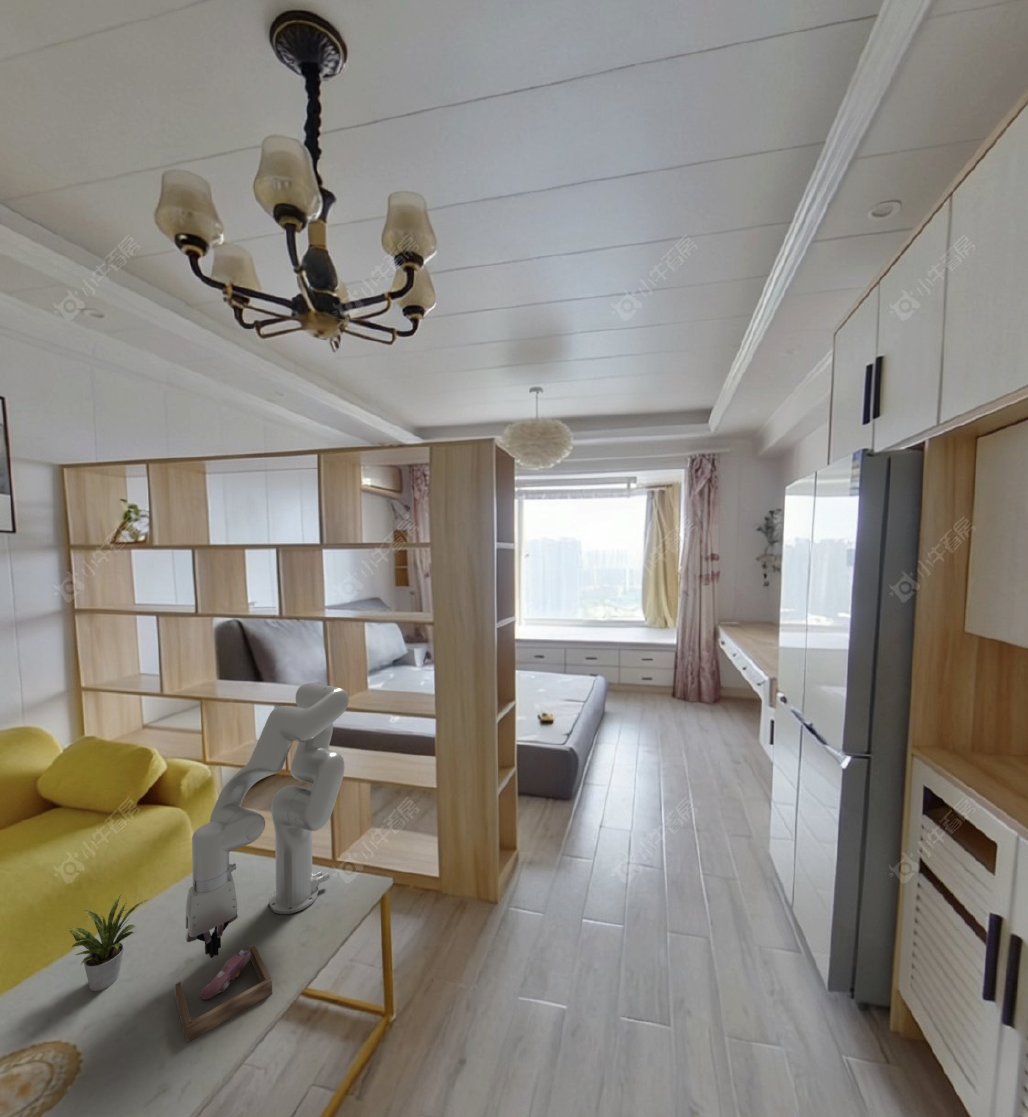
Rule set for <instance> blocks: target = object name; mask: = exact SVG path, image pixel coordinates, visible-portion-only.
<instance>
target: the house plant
mask: <svg viewBox="0 0 1028 1117" xmlns="http://www.w3.org/2000/svg"><path fill="white" fill-rule="evenodd" d="M121 896H122V894H120V895H119V896H118V897H117V898H116V899H115V901H114V903H113V905H112V906H111V909H110V911H109V914H108V918H107V922H106V918H105V916H104V915H102V914H100V916H99V914H97V913H95V912H93V911H90V910H88V909H87V910H86V909H83V911H84V912H85V913H86V914H88V915H89V916H85V917H87V918H90V919H92V920H93V922H94V924H95V927H96V930H97V932H98V935H99V938H100V940H98V939H97V938H96V937H95V936H94V935H93V934H92V932H89V931H88V930H87V929H85V928H81V927H76V926H75V927H74V926H72V927H68V929H69V930H68V931H69V932H70V934H71V935H72V936H73V938H74V940H75V943H73V944H72V946H71V948H74V947H79V946H82V947H84V948H86V949H87V950H84V951H80V952H78V953H76V954H75V956H79V955H86V957H84V958H83V959H82V962H81V963H80V965H82V964H83V965H84V970H85V974H86V978H87V982H88V986H89V989H90V990H91V991H93V992H94V991H95V992H96V991H100V990H104V989H106V988H108V987H109V986H111V985H113V983H115V982H116V981H118V979H119V976H120V971H121V967H122V966H121V965H122V961H123V954H124V951H125V944H124V943H123V942H122V941H123V940H125V939H126V938H128V937H129V936H130V935H133V934H134V933H136V932H134V931H131V930H132V929H134V928H137V926H136V925H135V924H128V925H127V926H126V927H124V926H125V924H126V923H127V922H128V921H129V920H130V919H131V917H130V918H128V917H129V916H130V915H131V913H132V912H133V911H135V910H136V908H138V907H139V906H140V905H141V904H143V903H145V902H147V901H148V899H146V900H143V901H141V902H138V903H137V904H135V905H134V906H132V907H131V908H130V909H129V910H128V909H125V908H126V906H127V904H128V902H127V901H126V903H124V905H122V907H121V908H120V910H119V912H118V914H117V915H116V917H115V914H116V911H117V909H118V906H119V902H120V899H121ZM125 911H128V912H126V914H125V915H124V916H123V918H122V920H121V917H122V914H123V912H125ZM101 917H102V919H101ZM114 918H115V919H114ZM127 918H128V919H127ZM120 920H121V921H120ZM123 927H124V928H123ZM121 929H122V930H121ZM120 930H121V931H120ZM79 933H80V934H79ZM100 941H101V942H100Z"/></svg>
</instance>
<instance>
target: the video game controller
mask: <svg viewBox="0 0 1028 1117" xmlns="http://www.w3.org/2000/svg"><path fill="white" fill-rule="evenodd" d="M250 957H251V953H250V951H248V950H243V949H240V951H238V952H237V953H235V955H233V956H232V957H230V958H229V959H227V960H226V962H225V963H224V965H223V967H222V968H221V969H220V970H219V971H218V973H216V976H214V978H213V979H212V980H211V982H209V983H208V984H206V985H205V986H204V987H203V988H202V989H201V991H200V997H201V999H202V1000H210V999H212V998H213V997H215V996H216V995H217V994H219V993H223V992H225V990H226V989H227V988H228V987H229V985H230V983H231V980H232V981H234V980H235V979H237V978H239V976H240V973H241V971H242V970H243V968H244V967H245V965H247V963H248V962H249V960H250Z"/></svg>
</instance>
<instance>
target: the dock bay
mask: <svg viewBox="0 0 1028 1117" xmlns="http://www.w3.org/2000/svg"><path fill="white" fill-rule="evenodd" d="M249 953H251V957H250V959H249V960H250V962H251V963H252V966H253V968H254V970H255V972H256V974H257V977H258V979H259V981H260V982H259V983H258V984H256V985H254V986H252V987H250V988H249V989H246V990H245V991H243V992H241V993H239V994H238V995H236V996H234V997H232V998H231V999H229V1000H226V1001H225V1002H223V1003H221V1004H219V1005H218V1006H216V1007H214V1008H213V1009H210V1010H209V1011H207V1012H206V1013H203V1014H202V1015H200V1016H198V1017H197V1018H195V1019H191V1015H190V1010H189V1008H188V1004H187V1000H186V997H185V993H184V990H183V984H182V981H178V982H176V983H175V984H174V993H175V994H174V995H175V996H174V997H175V998H174V1000H175V1002H176V1006H177V1010H178V1014H179V1019H180V1022H181V1025H182V1026H181V1027H182V1029H183V1034H184V1036H185V1041H186V1043H189V1042H190V1041H192V1040H194V1039H195V1038H197V1037H200V1036H201V1035H202V1034H205V1033H206V1032H208V1031H209V1030H212V1029H213V1028H215V1027H217V1026H218V1025H220V1024H221V1023H224V1022H225V1021H227V1020H229V1019H230V1018H232V1017H235V1016H236V1015H237V1014H239V1013H241V1012H242V1011H244V1010H246V1009H248V1008H250V1007H251V1006H253V1005H255V1004H256V1003H258V1002H259V1001H261V1000H263V999H265V998H266V997H268V996H270V995H272V994H273V979H272V977H271V975H270V973H269V971H268V968H267V967H266V964H265V963H264V961H263V958H262V957H261V954H260V952H259V950H258V948H257V947H256V945H255V944H252V945H250V946H249Z"/></svg>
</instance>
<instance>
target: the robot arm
mask: <svg viewBox="0 0 1028 1117" xmlns="http://www.w3.org/2000/svg"><path fill="white" fill-rule="evenodd" d="M349 701H350V698H349V695H348V692H347V691H346V690H345V689H344V688H341V687H337V686H332V685H325V684H320V683H304V684H302V685H301V686H299V687H298V688H297V690H296V693H295V703H296V706H291V705H282V706H277V707H276V708H273V710H272V711H271V712H270V713H269V715H268V718H267V720H266V722H265V724H264V726H263V728H262V730H261V733H260V736H259V738H258V740H257V743H256V745H255V748H254V750H253V752H252V754H251V757H249V761H248V762H247V763H246V765H244V766H243V767H242V768H241V769H240V770H238V771H237V772H236V773H235V774H234V775H233V776H232V777H231V779H229V780H228V782H226V784H225V785H224V787H223V789H222V790H221V791H220V794H219V795H218V798H217V800H216V802H215V805H214V807H213V809H212V811H211V815H210V817H209V823H205V824H203V825H202V826H200V827H198V828H197V829H196V830H195V831H194V832H193V834H192V837H191V860H192V862H191V865H192V866H191V868H192V870H191V871H192V872H191V873H192V886H190V888H189V889H188V892H187V898H186V904H185V906H186V907H185V919H184V920H185V921H184V923H185V928H186V934H185V940H186V942H187V943H190V942H194V941H197V940H199V941H202V942H204V953H205V955H208V956H209V957H210V959H213V958H214V957H217V956H219V949H220V948H221V947H222V942H221V939H222V938H221V937H222V936H223V935H224V934H223V933H224V931H225V930H226V929H227V927H228V926H229V924H231V923H233V922H234V921H236V920H237V919H238V917H239V915H238V900H237V899H238V897H237V892H236V884H235V882H234V881H235V880H234V878H233V874H232V872H233V871H234V870H237V864H236V863H231V864H230V852H232V851H234V850H238V849H240V848H242V847H245V846H248V845H250V844H252V843H254V842H255V841H256V840H258V839H259V838H260V837H261V836H262V834H263V833H264V830H265V828H266V819H265V817H264V816H263V815H262V814H261V813H259V812H258V811H257V812H256V811H254V810H252V809H248V808H246V807H243V806H242V803H243V802H244V801H243V800H244V798H245V797H246V794H247V793H248V792H249V791H250V789H251V787H253V786H254V785H255V784H256V783H257V782H259V781H261V780H262V779H264V778H267V777H269V776H273V775H275V774H279V773H280V772H281V771H282V770H283V767H284V765H285V763H286V759H287V757H288V755H289V752H290V750H291V747H292V745H293V743H294V742H298V744H297V746H296V749H295V752H294V755H293V758H292V761H291V765H290V774H291V776H292V777H293V778H294V779H296V780H298V781H300V782H303V783H307V784H311V785H312V787H311V788H309V787H304V786H301V785H296V784H291V785H289V784H288V785H286V786H284V787H282V788H280V789H279V790H278V791H277V792H276V794H275V795H274V796H273V799H272V800H271V801H272V802H271V805H270V810H271V811H270V813H271V818H272V819H271V820H272V822H273V827H274V836H275V838H274V839H275V840H274V841H275V848H274V849H275V851H274V852H275V855H274V856H275V891H274V892H273V893H272V895H271V896H270V898H269V909H270V910H271V911H272V912H273V913H275V914H279V915H290V914H295V913H297V912H300V911H302V910H304V909H306V908H308V907H309V906H311V904H313V903H314V902H315V901H316V899H317V898H318V896H319V886H320V884H322V883H325V882H327V881H328V880H330V879H331V876H330V873H329V872H325V873H322V871H321V870H320V871H318V872H316V873H314V874H313V832H315V831H316V832H317V831H319V830H321V829H322V828H324V827H325V826H326V825H327V823H328V822H329V819H330V818H331V816H332V814H333V811H334V808H335V804H336V801H337V799H338V794H339V793H340V789H341V785H342V783H343V779H344V775H345V768H346V765H345V760H344V756H342V754H340V753H339V752H337V751H335V750H331V749H329V747H330V743H331V740H332V736H333V731H334V724H333V723H334V722H336V721H337V720H339V718H340V717H341V716H342V715H344V713H345V711H346V710H347V708H348V705H349ZM210 930H213V932H210ZM211 933H212V934H211Z"/></svg>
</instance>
